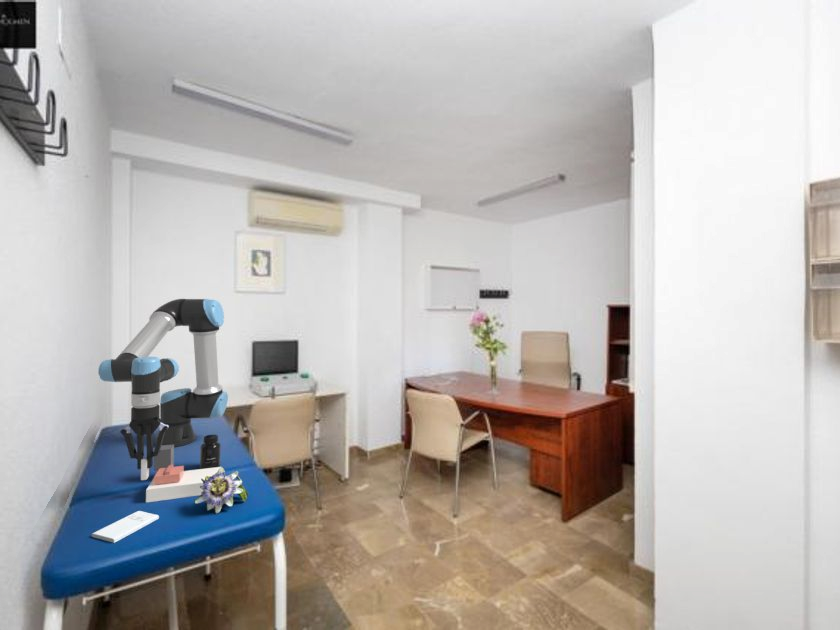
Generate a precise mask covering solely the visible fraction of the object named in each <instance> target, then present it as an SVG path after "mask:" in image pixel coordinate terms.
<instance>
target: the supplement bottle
mask: <svg viewBox="0 0 840 630" xmlns="http://www.w3.org/2000/svg"><path fill="white" fill-rule="evenodd" d="M221 445H222V444H221V443H220V442H219V435H218V434H208V435H205V436H203V443H202V444H201V445H200V451H199V452H200V453H199V469H207V468H215V467H221V448H222V447H221Z"/></svg>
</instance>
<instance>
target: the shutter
mask: <svg viewBox="0 0 840 630" xmlns="http://www.w3.org/2000/svg"><path fill="white" fill-rule="evenodd" d="M174 465H175V463H174V464H173V465H169V466H168V467H167V468H160V469H159V470H157V471H156V473H155V475H154V477H153V479H154V485H156V484H164V483H172V482H180V480H181V477H182V475H183V473H184V471H185V470H184V468H185V465H179V466H174Z"/></svg>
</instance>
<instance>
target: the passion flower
mask: <svg viewBox="0 0 840 630" xmlns="http://www.w3.org/2000/svg"><path fill="white" fill-rule="evenodd" d="M220 467H221V468H220V469H219V470H218V472H217V473H215V474H214V475H213V476H210V477H209V476H206V477H205V480H203V479H201V480H202V481H203V485H201V486H200V488H201V489H203V490H204V491H203V492H201V495H198V497H196V498H195V500H194V502H193V504H201V503H203V502H205V503H206V511H207V512H208V511H211V510H214V512H215V514H219V513H220V512H221V509H222V507H223V505H226V506H227V507H230V508H232V507H233V504H234V496H235V495H238V497H240V498H241V500H242V502H246V501H247V498H248V497H247V496H249V492H248V491H247V490H246V489H245V487H244V486H243V485H242V483H243V481H242V480H243V479H241V478H240V477H239V472H238V471H234V472H231V473H230V474H227V473H226V471H225V469H224V468H223V466H220ZM236 479H237V480H236Z"/></svg>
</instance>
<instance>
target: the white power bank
mask: <svg viewBox="0 0 840 630" xmlns="http://www.w3.org/2000/svg"><path fill="white" fill-rule="evenodd" d="M159 518H160V516H159V514H155V513H150V512H146V511H142V510H138V511H135V512H133V513H131V514H129V515H127V516H125V517H123V518H121V519H119V520H117V521H115V522H113V523H111V524H109V525H107V526H104V527H103V528H100V529H98V530H97V531H95V532H93V533H91V538H95V539H98V540H103V541H105V542H109V543H112V544H115V543H116V542H119V541H120V540H122V539H124V538H126V537H127V536H130V535H131V534H133V533H135V532H137V531H139V530H141V529H142V528H144V527H146V526H148V525H150V524H151V523H153V522H155V521H157V520H159Z"/></svg>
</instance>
